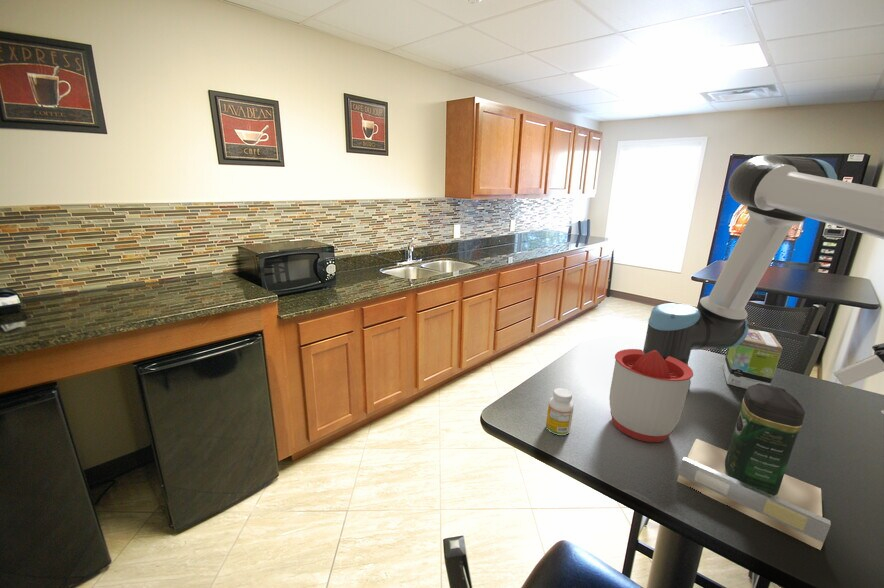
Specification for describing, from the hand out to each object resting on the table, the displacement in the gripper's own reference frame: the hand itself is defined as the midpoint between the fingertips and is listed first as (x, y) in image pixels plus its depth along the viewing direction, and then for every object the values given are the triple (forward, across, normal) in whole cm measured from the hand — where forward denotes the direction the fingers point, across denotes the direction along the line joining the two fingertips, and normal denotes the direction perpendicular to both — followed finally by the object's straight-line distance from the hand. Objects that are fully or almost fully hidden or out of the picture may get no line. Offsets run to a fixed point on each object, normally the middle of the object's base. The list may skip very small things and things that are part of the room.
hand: (860, 397), depth 62 cm
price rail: (+24, -8, -5) cm, 26 cm away
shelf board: (+23, -1, -8) cm, 25 cm away
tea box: (+14, +55, -18) cm, 59 cm away
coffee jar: (+22, 0, -7) cm, 23 cm away
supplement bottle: (+48, +2, +17) cm, 51 cm away
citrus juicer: (+36, +12, +4) cm, 38 cm away
